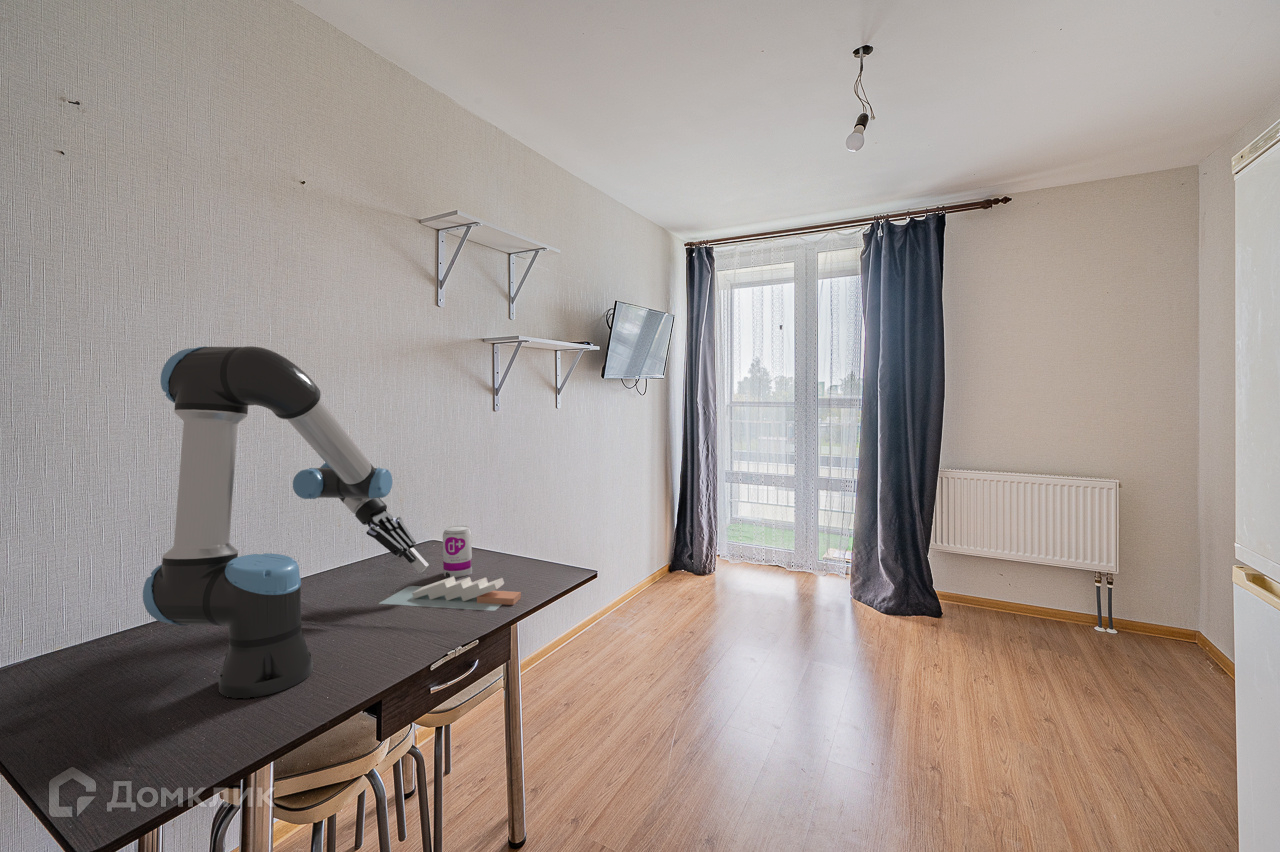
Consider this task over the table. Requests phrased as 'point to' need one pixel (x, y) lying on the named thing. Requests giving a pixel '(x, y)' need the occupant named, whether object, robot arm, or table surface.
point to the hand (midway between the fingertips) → (424, 569)
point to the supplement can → (457, 551)
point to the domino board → (436, 601)
